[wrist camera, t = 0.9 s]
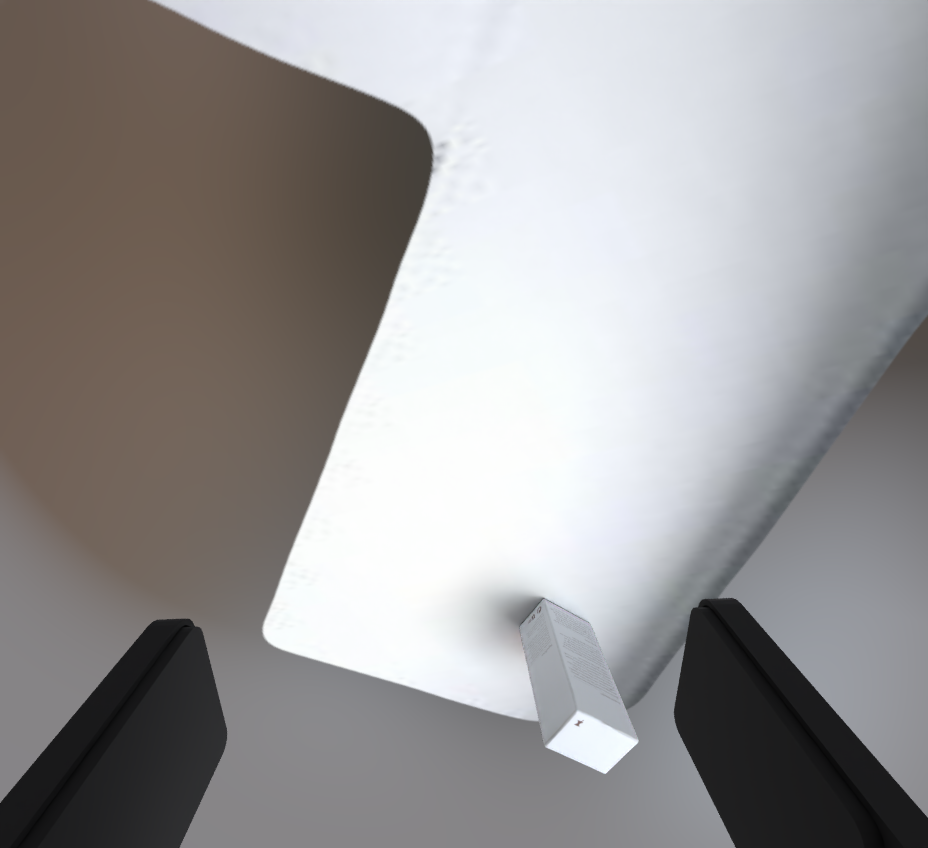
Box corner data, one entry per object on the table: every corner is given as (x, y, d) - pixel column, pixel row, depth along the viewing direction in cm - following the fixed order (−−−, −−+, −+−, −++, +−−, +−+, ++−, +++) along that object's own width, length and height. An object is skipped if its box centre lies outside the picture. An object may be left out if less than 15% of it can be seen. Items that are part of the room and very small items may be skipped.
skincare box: (517, 627, 45) (541, 747, 34) (543, 596, 44) (577, 709, 33) (566, 653, 46) (605, 777, 35) (592, 623, 45) (642, 741, 34)
